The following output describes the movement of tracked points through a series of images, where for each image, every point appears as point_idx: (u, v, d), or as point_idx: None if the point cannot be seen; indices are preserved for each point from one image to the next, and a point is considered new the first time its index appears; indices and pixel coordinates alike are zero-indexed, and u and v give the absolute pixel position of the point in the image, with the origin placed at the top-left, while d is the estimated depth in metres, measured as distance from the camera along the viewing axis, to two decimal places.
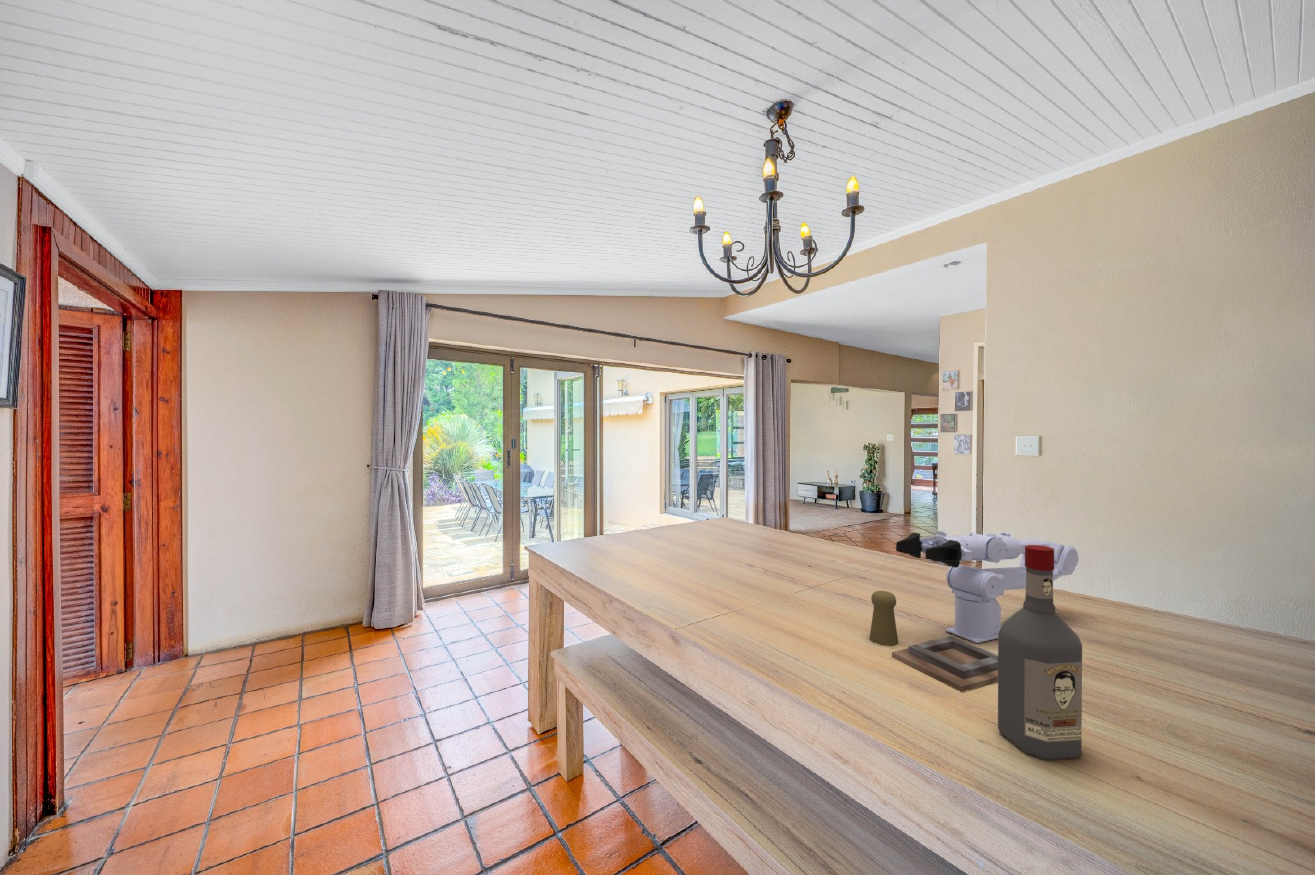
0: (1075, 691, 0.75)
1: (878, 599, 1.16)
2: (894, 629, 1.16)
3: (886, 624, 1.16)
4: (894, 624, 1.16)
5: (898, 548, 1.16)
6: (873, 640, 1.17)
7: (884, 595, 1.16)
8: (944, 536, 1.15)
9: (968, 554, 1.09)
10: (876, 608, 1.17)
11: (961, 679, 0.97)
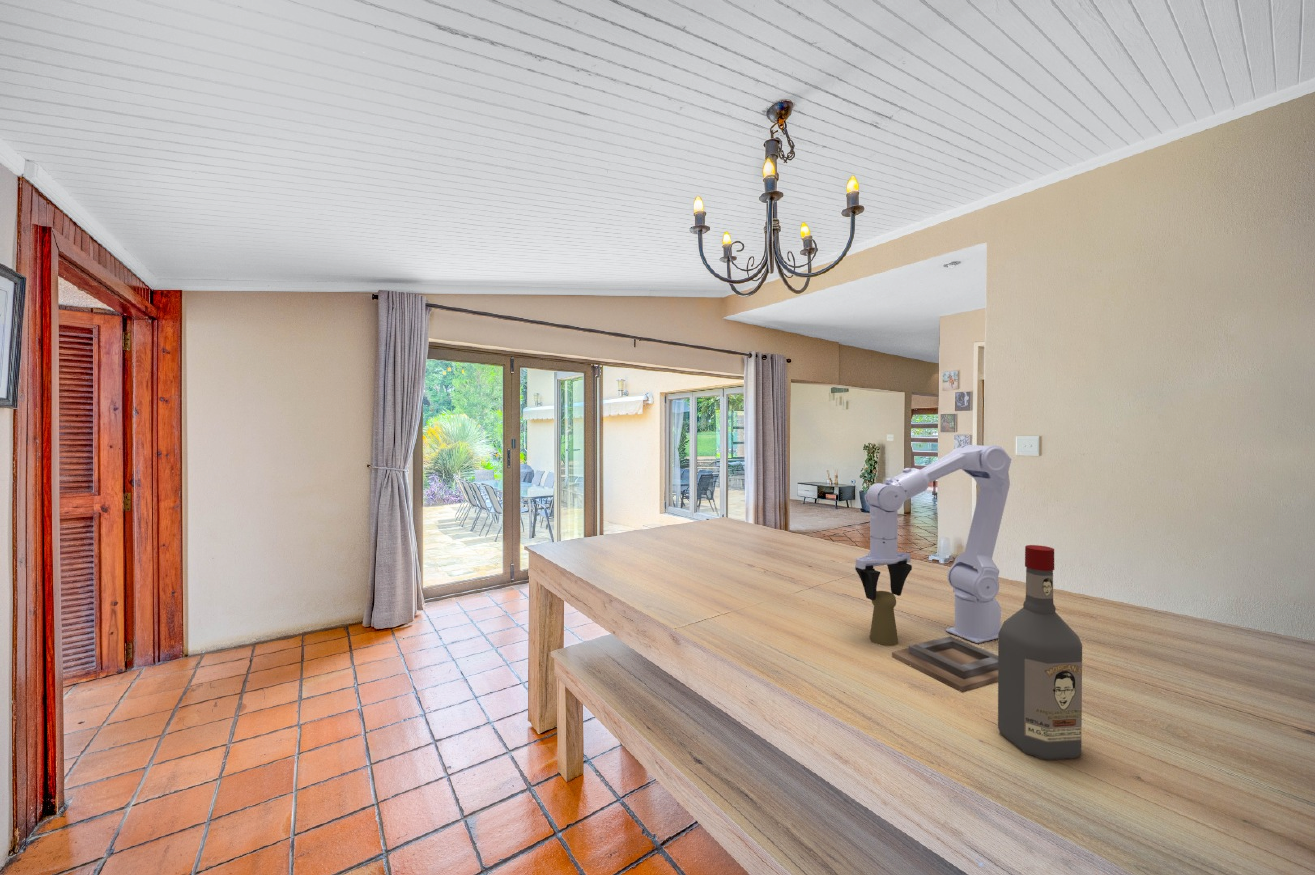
0: (1075, 691, 0.75)
1: (878, 599, 1.16)
2: (894, 629, 1.16)
3: (886, 624, 1.16)
4: (894, 624, 1.16)
5: None
6: (873, 640, 1.17)
7: (884, 595, 1.16)
8: None
9: (857, 565, 1.15)
10: (876, 608, 1.17)
11: (961, 679, 0.97)
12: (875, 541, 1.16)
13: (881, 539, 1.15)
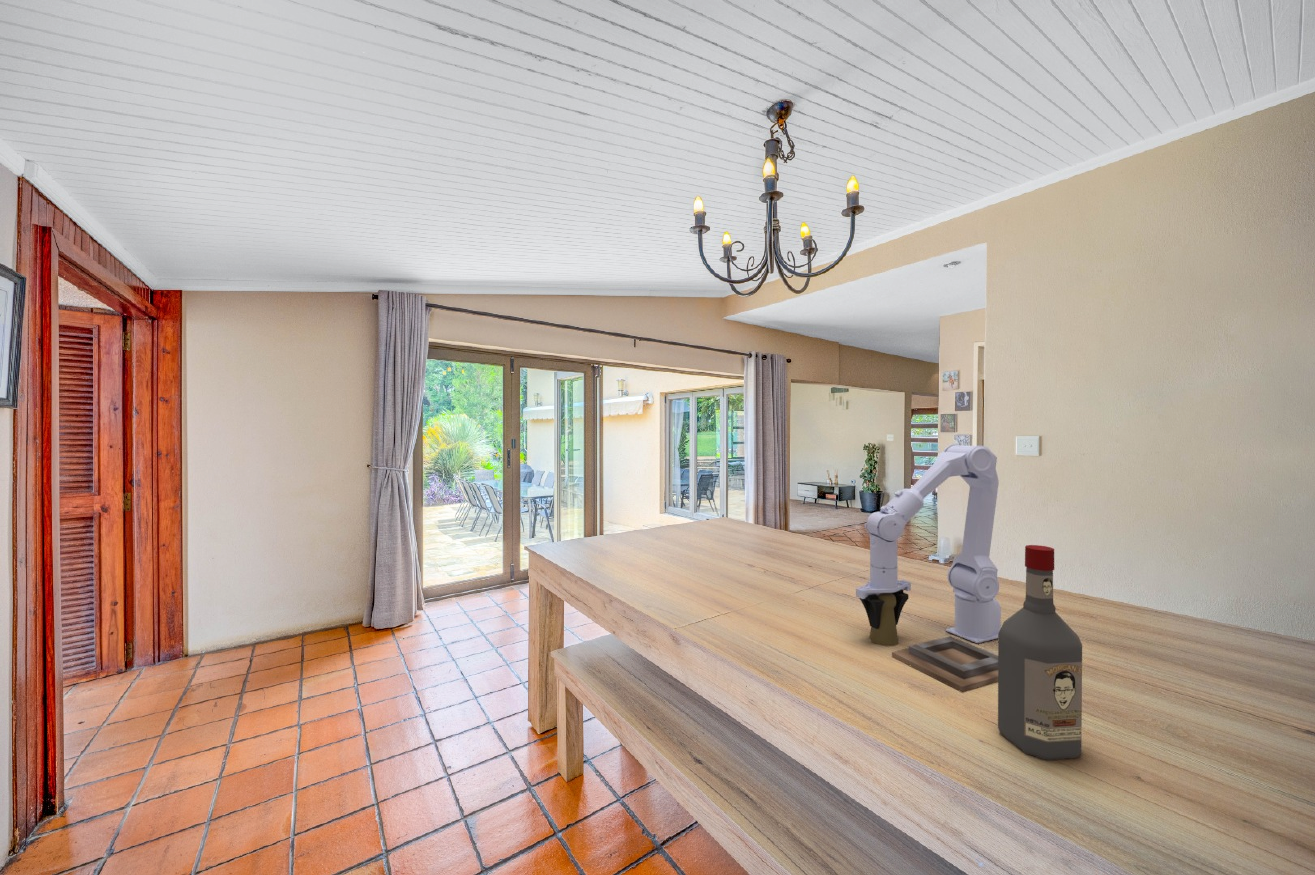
0: (1075, 691, 0.75)
1: None
2: (894, 629, 1.16)
3: (886, 624, 1.16)
4: (894, 624, 1.16)
5: None
6: (873, 640, 1.17)
7: (884, 595, 1.16)
8: None
9: (857, 594, 1.15)
10: None
11: (961, 679, 0.97)
12: (875, 570, 1.16)
13: (881, 568, 1.15)
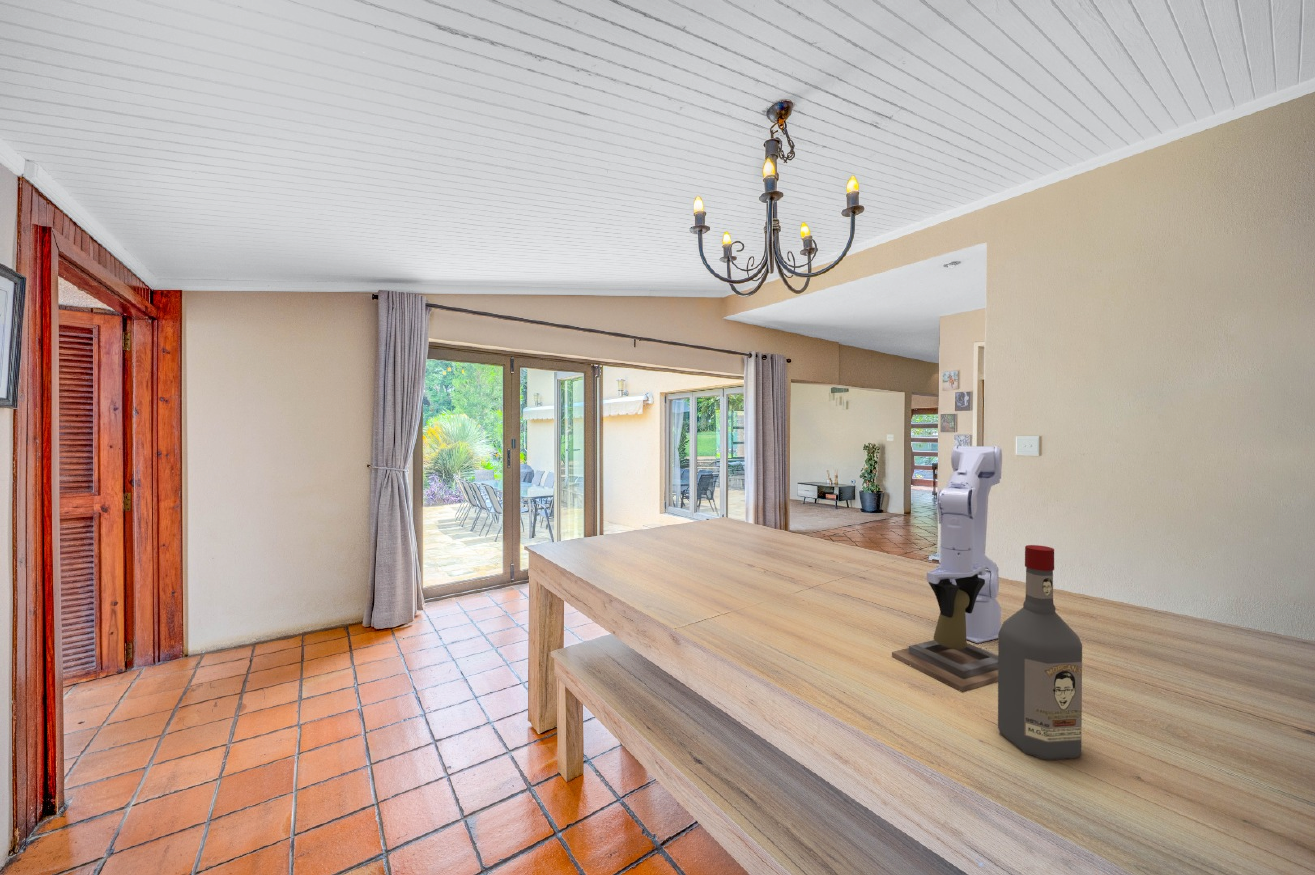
0: (1075, 691, 0.75)
1: None
2: (965, 631, 1.05)
3: (958, 626, 1.04)
4: (965, 625, 1.05)
5: (966, 612, 1.06)
6: (941, 642, 1.05)
7: (958, 594, 1.04)
8: None
9: (929, 579, 1.03)
10: None
11: (961, 679, 0.97)
12: (948, 552, 1.04)
13: (955, 550, 1.03)
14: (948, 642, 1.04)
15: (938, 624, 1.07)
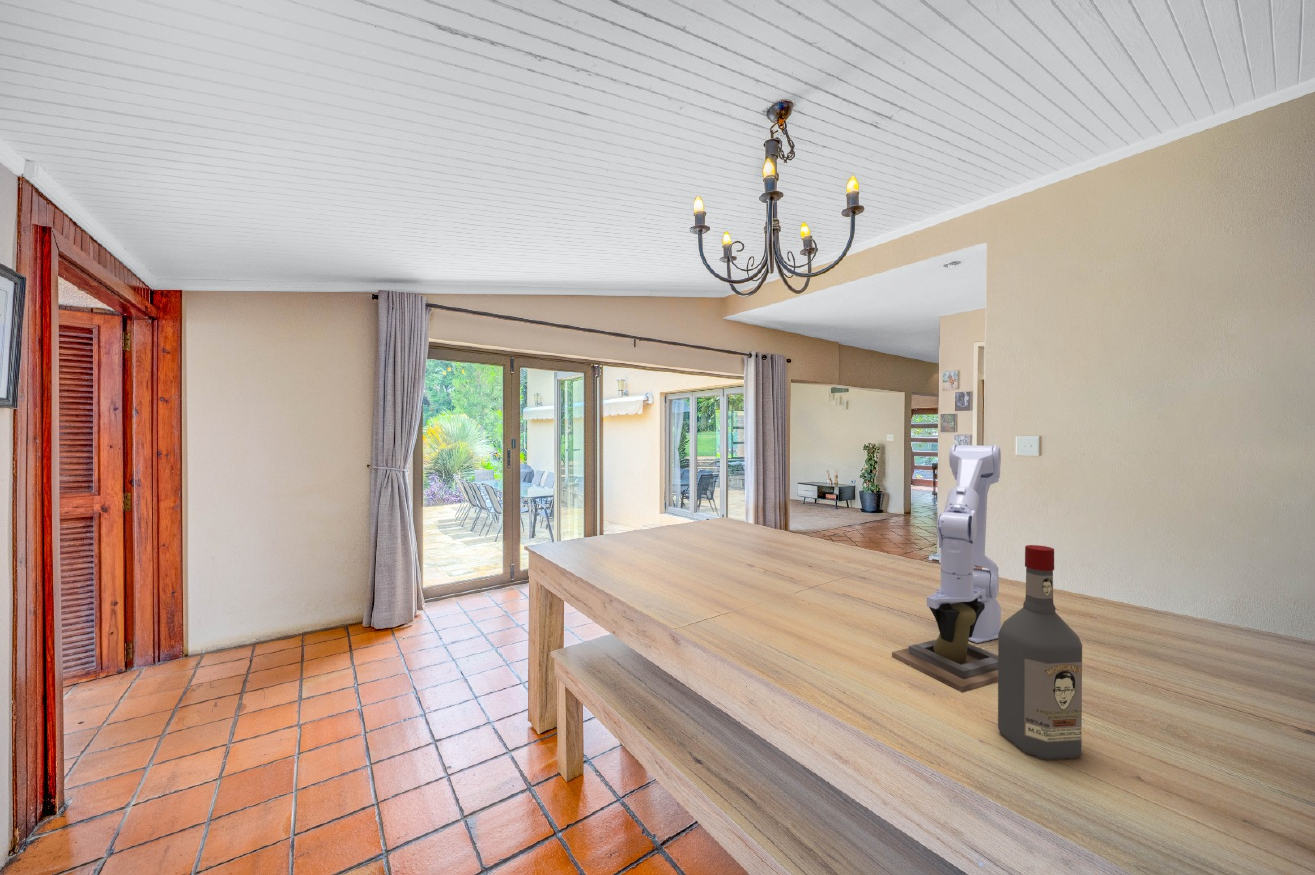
0: (1075, 691, 0.75)
1: (958, 615, 1.03)
2: (967, 646, 1.04)
3: (960, 642, 1.03)
4: None
5: None
6: (940, 654, 1.05)
7: (966, 612, 1.02)
8: None
9: (929, 603, 1.03)
10: None
11: (961, 679, 0.97)
12: (948, 577, 1.04)
13: (956, 575, 1.03)
14: (948, 656, 1.04)
15: (940, 636, 1.06)
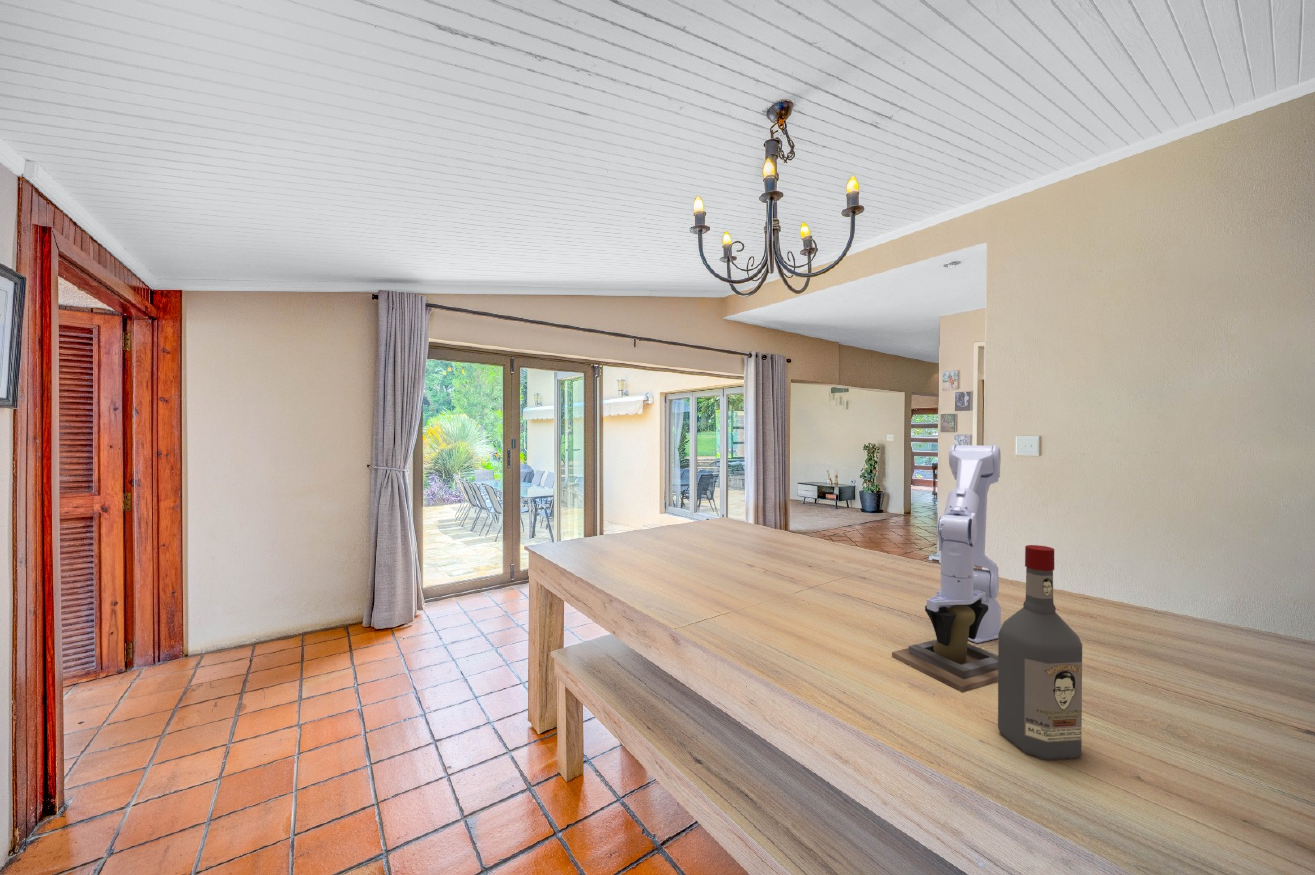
0: (1075, 691, 0.75)
1: (957, 615, 1.03)
2: (966, 646, 1.04)
3: (960, 642, 1.03)
4: (967, 641, 1.04)
5: (970, 638, 1.07)
6: (940, 655, 1.05)
7: (965, 612, 1.02)
8: None
9: (929, 606, 1.03)
10: None
11: (961, 679, 0.97)
12: (948, 579, 1.04)
13: (956, 577, 1.03)
14: (948, 656, 1.04)
15: None
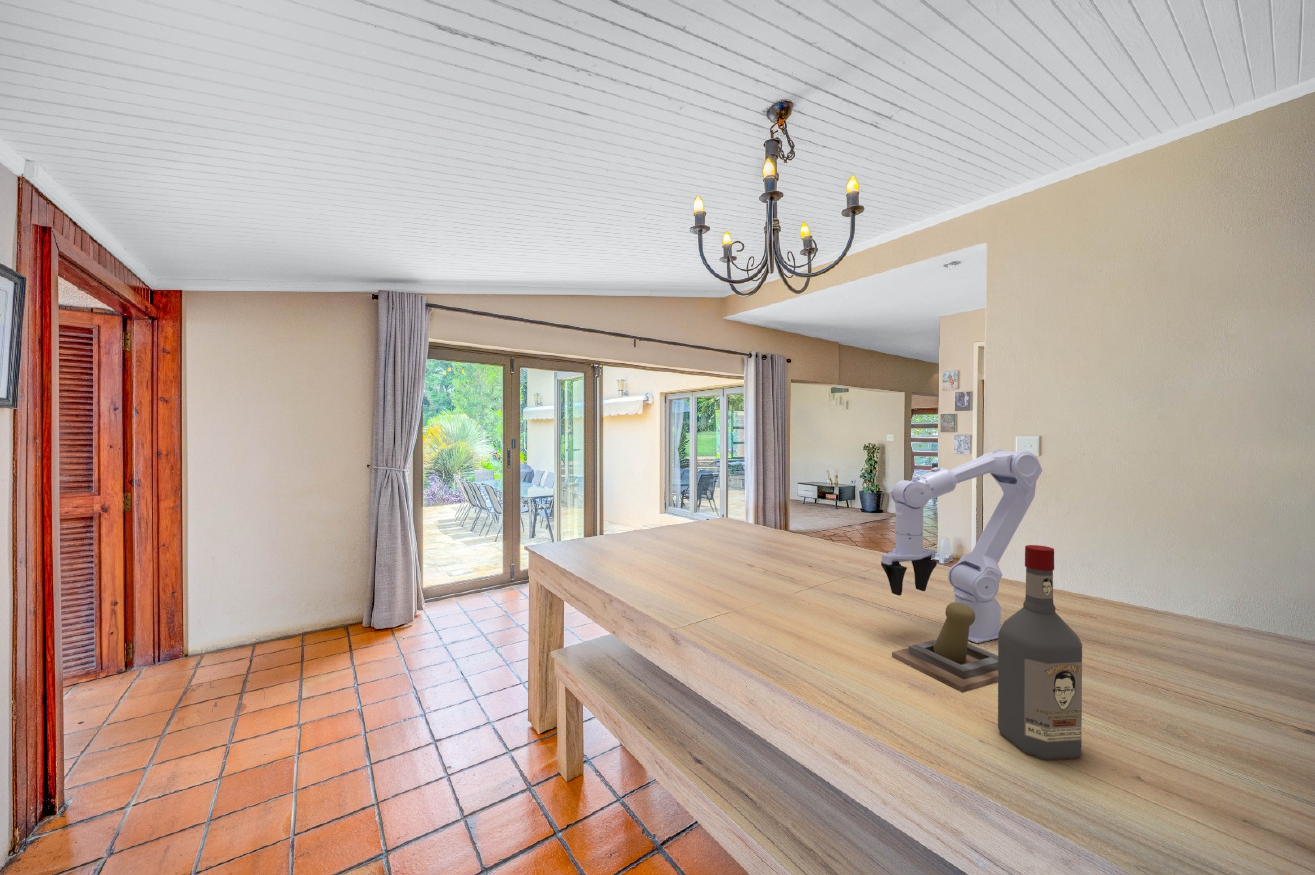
0: (1075, 691, 0.75)
1: (957, 615, 1.03)
2: (966, 646, 1.04)
3: (960, 642, 1.03)
4: (967, 641, 1.04)
5: None
6: (940, 655, 1.05)
7: (965, 612, 1.02)
8: None
9: (884, 560, 1.17)
10: (951, 623, 1.04)
11: (961, 679, 0.97)
12: (901, 537, 1.18)
13: (907, 535, 1.17)
14: (948, 656, 1.04)
15: (940, 637, 1.06)
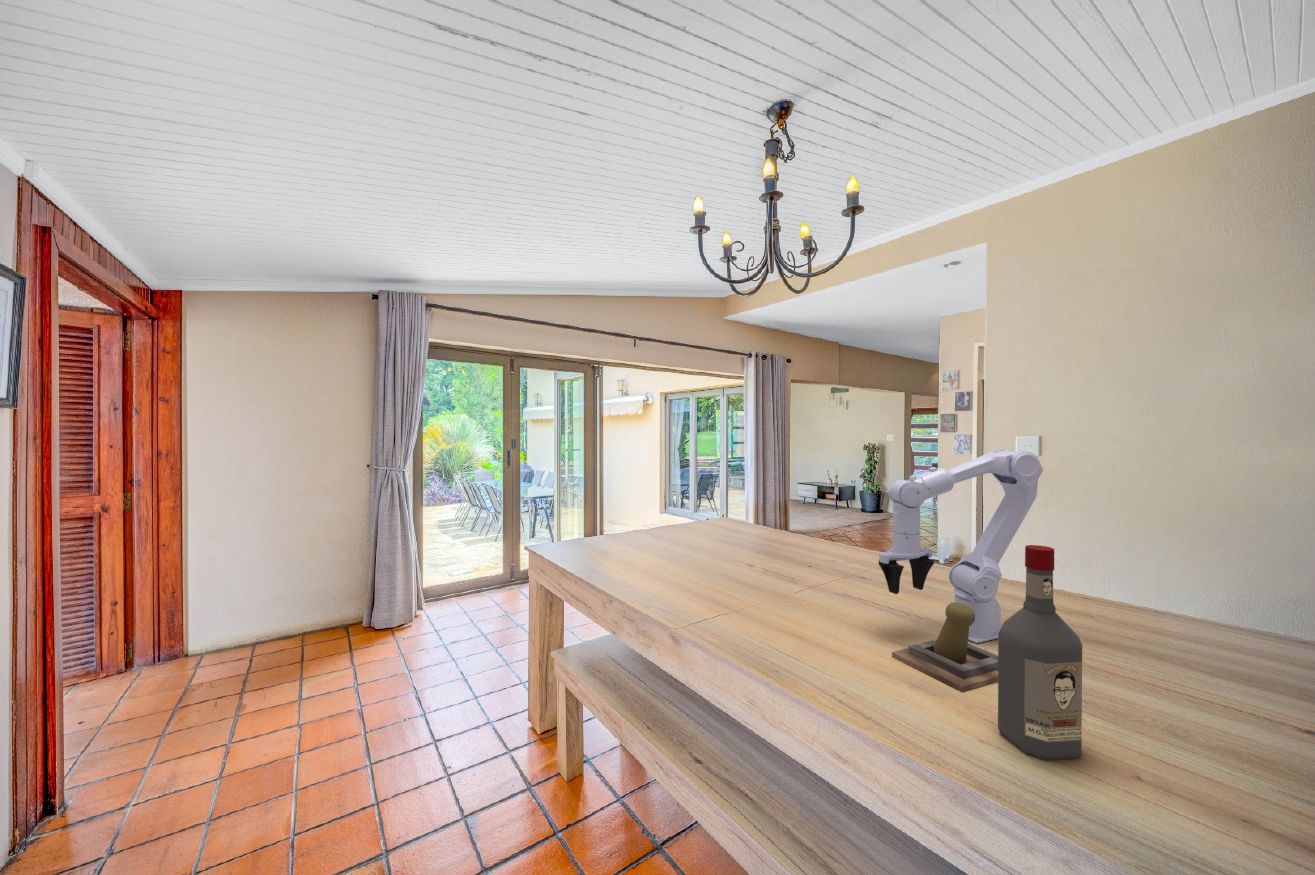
0: (1075, 691, 0.75)
1: (957, 615, 1.03)
2: (966, 646, 1.04)
3: (960, 642, 1.03)
4: (967, 641, 1.04)
5: None
6: (940, 655, 1.05)
7: (965, 612, 1.02)
8: None
9: (881, 559, 1.18)
10: (951, 623, 1.04)
11: (961, 679, 0.97)
12: (898, 536, 1.19)
13: (904, 534, 1.18)
14: (948, 656, 1.04)
15: (940, 637, 1.06)
